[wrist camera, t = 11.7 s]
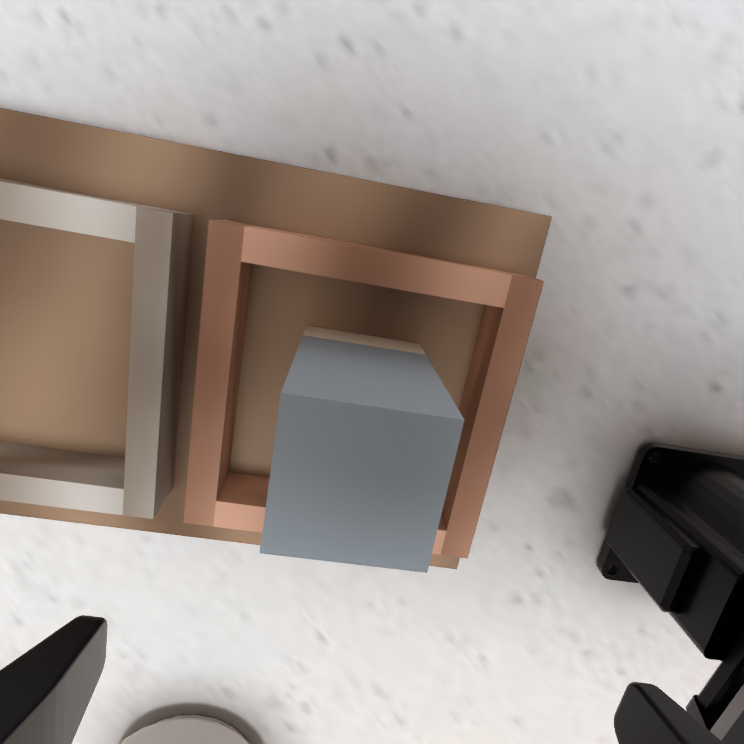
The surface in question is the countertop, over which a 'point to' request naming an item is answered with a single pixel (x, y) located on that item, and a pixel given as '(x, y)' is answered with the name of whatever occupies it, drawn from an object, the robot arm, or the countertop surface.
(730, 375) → the countertop surface
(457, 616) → the countertop surface
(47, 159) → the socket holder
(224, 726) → the can
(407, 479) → the banded block
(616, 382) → the countertop surface
